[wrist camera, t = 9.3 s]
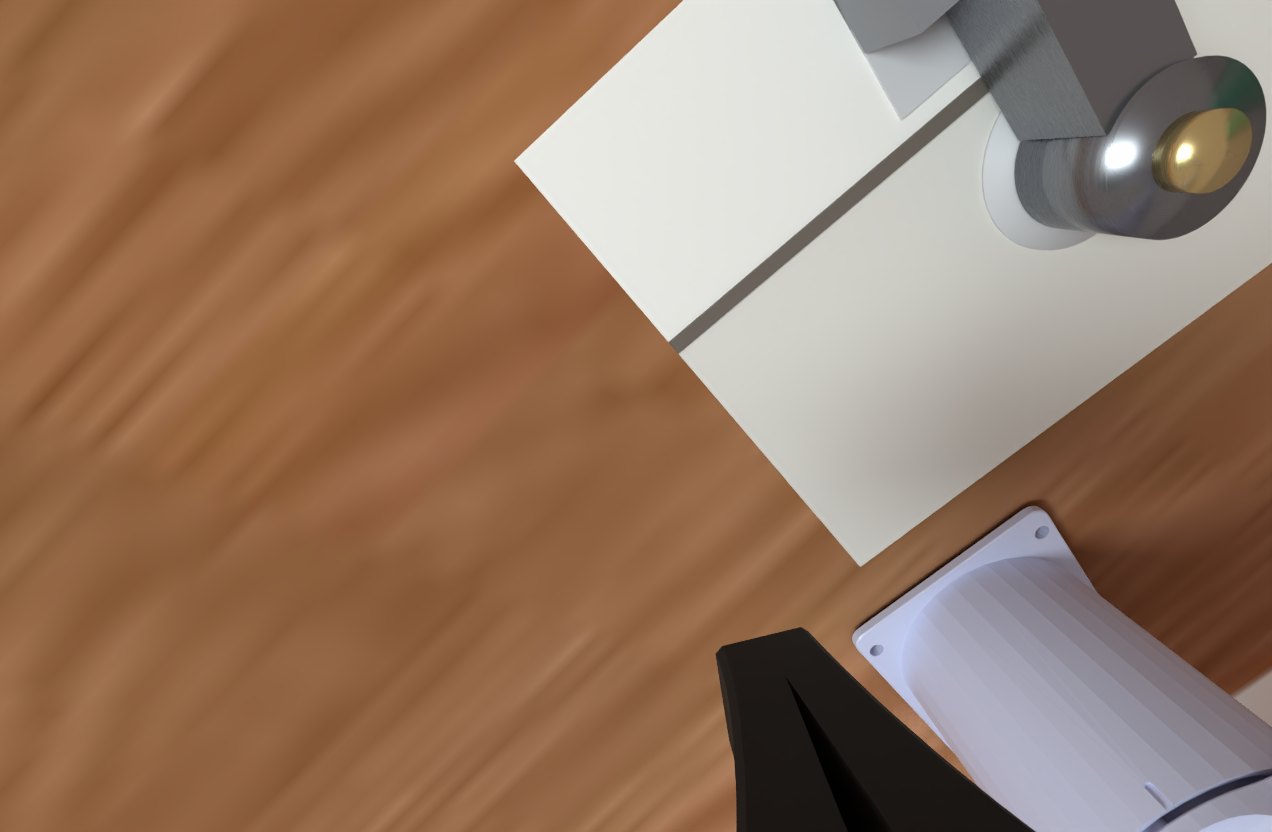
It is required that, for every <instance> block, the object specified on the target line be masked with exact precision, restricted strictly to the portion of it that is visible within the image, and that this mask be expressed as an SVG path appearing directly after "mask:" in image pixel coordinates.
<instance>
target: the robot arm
mask: <svg viewBox="0 0 1272 832" xmlns="http://www.w3.org/2000/svg"><path fill="white" fill-rule="evenodd" d="M1038 528H1039V529H1038ZM1037 529H1038V530H1037ZM1036 530H1037V531H1036ZM852 641H853V643H854V645H855V646H856V648H857V649H858V651H859V652H860V653H861V654H862V655H863V656H864V657H865V658H866V659H867V660H868V661H869V662H870V663H871V664H872V666H873V667H874V668H875V669H876V670H877V671H878V672H879V673H880V674H881V675H882V676H883V677H884V678H885V679H886V681H887V682H888V683H889V684H890V685H891V686H892V687H893V688H894V689H895V690H896V691H897V692H898V693H899V694H900V696H901V697H902V698H903V699H904V700H905V701H906V702H907V703H908V704H909V705H910V706H911V707H912V708H913V709H914V711H915V712H916V713H917V714H918V715H919V716H920V717H921V718H922V719H923V720H924V721H925V722H926V723H927V724H928V726H929V727H930V728H931V729H932V730H933V731H934V732H935V733H936V734H937V735H938V736H939V737H940V738H941V739H942V741H943V742H944V743H945V744H946V745H947V746H948V747H949V748H950V749H951V750H952V751H953V752H954V753H955V755H956V756H957V757H958V759H959V760H960V762H961V763H962V765H963V766H964V767H965V769H966V770H967V772H968V773H969V774H970V776H971V777H972V779H973V780H974V782H975V783H976V784H977V785H975V784H974V783H973V782H972V781H971V780H969V779H968V778H967V777H966V776H964V775H963V774H962V773H961V772H959V771H958V770H957V769H956V768H955V767H953V766H952V765H951V764H950V763H949V762H947V761H946V760H945V759H944V758H943V757H941V756H940V755H939V754H938V753H937V752H935V751H934V750H933V749H932V748H931V747H930V746H928V745H927V744H926V743H925V742H924V741H923V740H922V739H921V738H919V737H918V736H917V735H916V734H915V733H914V732H913V731H911V730H910V729H909V728H908V727H907V726H906V725H905V724H903V723H902V722H901V721H900V720H899V719H898V718H897V717H896V716H894V715H893V714H892V713H891V712H890V711H889V710H888V709H887V708H886V707H884V706H883V705H882V704H881V703H880V702H879V701H878V700H877V699H876V698H875V697H874V696H873V695H871V694H870V693H869V692H868V691H867V690H866V689H865V688H864V687H863V686H862V685H861V684H860V683H859V682H858V681H857V680H856V679H855V678H854V677H853V676H852V675H850V674H849V673H848V672H847V671H846V670H845V669H844V668H843V667H842V666H841V665H840V664H839V663H838V662H837V661H836V660H835V659H834V658H833V657H832V656H831V655H830V654H829V653H828V652H827V651H826V650H825V649H824V647H823V646H822V645H821V644H820V643H819V642H818V641H817V640H816V639H815V638H814V637H813V636H812V635H811V634H810V633H809V632H808V631H806V630H805V629H803V628H802V627H799V628H795V629H791V630H787V631H783V632H779V633H775V634H771V635H766V636H762V637H758V638H754V639H750V640H746V641H742V642H737V643H733V644H729V645H725V646H722V647H721V648H720V649H719V651H718V652H717V653H716V660H717V666H718V672H719V678H720V685H721V691H722V697H723V704H724V710H725V716H726V722H727V729H728V735H729V741H730V744H731V748H732V752H733V755H734V761H735V776H736V798H737V832H1272V727H1271V726H1269V725H1268V724H1267V723H1265V722H1264V721H1263V720H1262V719H1260V718H1259V717H1258V716H1256V715H1255V714H1254V713H1252V712H1251V711H1250V710H1249V709H1247V708H1246V707H1245V706H1243V705H1242V704H1241V703H1239V702H1238V701H1237V700H1235V699H1234V698H1233V697H1232V696H1230V695H1229V694H1228V693H1226V692H1225V691H1224V690H1222V689H1221V688H1220V687H1219V686H1217V685H1216V684H1215V683H1213V682H1212V681H1211V680H1209V679H1208V678H1207V677H1206V676H1204V675H1203V674H1202V673H1200V672H1199V671H1198V670H1196V669H1195V668H1194V667H1193V666H1191V665H1190V664H1189V663H1187V662H1186V661H1185V660H1183V659H1182V658H1181V657H1179V656H1178V655H1177V654H1176V653H1174V652H1173V651H1172V650H1170V649H1169V648H1168V647H1166V646H1165V645H1164V644H1163V643H1161V642H1160V641H1159V640H1157V639H1156V638H1155V637H1153V636H1152V635H1151V634H1150V633H1148V632H1147V631H1146V630H1144V629H1143V628H1142V627H1140V626H1139V625H1138V624H1136V623H1135V622H1134V621H1133V620H1131V619H1130V618H1129V617H1127V616H1126V615H1125V614H1123V613H1122V612H1121V611H1120V610H1118V609H1117V608H1116V607H1114V606H1113V605H1112V604H1110V603H1109V602H1108V601H1107V600H1105V599H1104V598H1103V597H1101V596H1100V595H1099V594H1098V593H1097V592H1096V590H1095V588H1094V587H1093V585H1092V584H1091V582H1090V580H1089V579H1088V577H1087V576H1086V574H1085V572H1084V571H1083V569H1082V568H1081V566H1080V565H1079V563H1078V561H1077V560H1076V558H1075V557H1074V555H1073V553H1072V552H1071V550H1070V549H1069V547H1068V545H1067V544H1066V542H1065V541H1064V539H1063V537H1062V536H1061V534H1060V533H1059V531H1058V529H1057V528H1056V526H1055V525H1054V523H1053V521H1052V520H1051V518H1050V517H1049V515H1048V514H1047V513H1046V512H1045V511H1044V510H1042V509H1041V508H1039V507H1037V506H1029V507H1026V508H1025V509H1023V510H1021V511H1020V512H1019V513H1017V514H1016V515H1014V516H1013V517H1012V518H1010V519H1009V520H1007V521H1006V522H1005V523H1003V524H1002V525H1001V526H999V527H998V528H996V529H995V530H994V531H992V532H991V533H989V534H988V535H987V536H985V537H984V538H983V539H981V540H980V541H978V542H977V543H976V544H974V545H973V546H972V547H970V548H969V549H967V550H966V551H965V552H963V553H962V554H960V555H959V556H958V557H956V558H955V559H954V560H952V561H951V562H949V563H948V564H947V565H945V566H944V567H942V568H941V569H940V570H938V571H937V572H936V573H934V574H933V575H931V576H930V577H929V578H927V579H926V580H924V581H923V582H922V583H920V584H919V585H918V586H916V587H915V588H913V589H912V590H911V591H909V592H908V593H906V594H905V595H904V596H902V597H901V598H900V599H898V600H897V601H895V602H894V603H893V604H891V605H890V606H888V607H887V608H886V609H884V610H883V611H882V612H880V613H879V614H877V615H876V616H875V617H873V618H872V619H870V620H869V621H868V622H866V623H865V624H864V625H862V626H861V627H859V628H858V629H857V630H856V631H855V632H854V634H853V636H852ZM875 645H876V646H875ZM873 646H875V647H873ZM872 647H873V648H872Z"/></svg>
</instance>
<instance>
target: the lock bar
mask: <svg viewBox="0 0 1272 832" xmlns="http://www.w3.org/2000/svg"><path fill="white" fill-rule="evenodd" d="M945 15H946V16H947V18H948V20H949V21H950V23H951V25H952V27H953V28H954V30H955V32H956V34H957V35H958V37H959V39H960V40H961V42H962V44H963V46H964V47H965V49H966V51H967V53H968V54H969V56H970V58H971V60H972V61H973V63H974V65H975V66H976V68H977V70H978V72H979V73H980V75H981V77H982V79H983V80H984V82H985V84H986V86H987V87H988V89H989V91H990V92H991V94H992V96H993V98H994V99H995V101H996V103H997V105H998V106H999V108H1000V110H1001V111H1002V113H1003V115H1004V117H1005V118H1006V120H1007V122H1008V124H1009V125H1010V127H1011V129H1012V131H1013V132H1014V134H1015V136H1016V137H1017V139H1018V141H1020V140H1021V141H1020V144H1019V147H1018V151H1017V155H1016V161H1015V171H1014V176H1015V186H1016V192H1017V195H1018V198H1019V200H1020V202H1021V204H1022V206H1023V208H1024V209H1025V211H1026V212H1027V213H1028V214H1029V215H1030V216H1031V217H1032V218H1033V219H1034V220H1035V221H1037V222H1038V223H1040V224H1042V225H1044V226H1047V227H1051V228H1057V229H1065V230H1074V231H1082V232H1091V233H1099V234H1108V235H1116V236H1125V237H1133V238H1142V239H1151V240H1168V239H1173V238H1177V237H1180V236H1183V235H1186V234H1188V233H1190V232H1193V231H1195V230H1197V229H1198V228H1200V227H1202V226H1203V225H1205V224H1206V223H1208V222H1209V221H1210V220H1212V219H1213V218H1214V217H1216V216H1217V215H1218V214H1219V213H1220V212H1221V211H1222V210H1223V209H1224V208H1225V207H1226V206H1227V205H1228V204H1229V203H1230V202H1231V201H1232V200H1233V199H1234V197H1235V196H1236V195H1237V193H1238V192H1239V191H1240V190H1241V188H1242V187H1243V185H1244V183H1245V182H1246V180H1247V179H1248V177H1249V175H1250V173H1251V171H1252V170H1253V168H1254V165H1255V163H1256V161H1257V158H1258V156H1259V153H1260V150H1261V147H1262V144H1263V139H1264V135H1265V128H1266V103H1265V97H1264V93H1263V90H1262V87H1261V85H1260V83H1259V81H1258V79H1257V77H1256V76H1255V75H1254V73H1253V72H1252V71H1251V70H1250V69H1249V68H1248V67H1247V66H1246V65H1245V64H1243V63H1241V62H1240V61H1238V60H1236V59H1233V58H1230V57H1226V56H1219V55H1214V56H1203V57H1197V58H1194V57H1195V56H1196V55H1197V52H1196V49H1195V47H1194V45H1193V42H1192V40H1191V38H1190V35H1189V33H1188V30H1187V28H1186V26H1185V23H1184V21H1183V18H1182V16H1181V14H1180V11H1179V9H1178V7H1177V4H1176V2H1175V0H959V1H958V2H957V3H956V4H955V5H953V6H952V7H951V8H950V9H949V10H948V11H947V12H945Z"/></svg>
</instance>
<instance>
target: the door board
mask: <svg viewBox="0 0 1272 832" xmlns="http://www.w3.org/2000/svg"><path fill="white" fill-rule="evenodd" d="M958 1H959V0H683V1H682V2H681V3H680V4H679V5H678V6H677V7H676V8H675V9H674V10H673V11H672V12H671V13H670V14H669V15H668V16H667V17H666V18H665V19H663V20H662V21H661V22H660V23H659V24H658V25H657V26H656V27H655V28H654V29H653V30H652V31H651V32H650V33H649V34H648V35H647V36H646V37H644V38H643V39H642V40H641V41H640V42H639V43H638V44H637V45H636V46H635V47H634V48H633V49H632V50H631V51H630V52H629V53H628V54H627V55H625V56H624V57H623V58H622V59H621V60H620V61H619V62H618V63H617V64H616V65H615V66H614V67H613V68H612V69H611V70H610V71H609V72H608V73H606V74H605V75H604V76H603V77H602V78H601V79H600V80H599V81H598V82H597V83H596V84H595V85H594V86H593V87H592V88H591V89H590V90H589V91H587V92H586V93H585V94H584V95H583V96H582V97H581V98H580V99H579V100H578V101H577V102H576V103H575V104H574V105H573V106H572V107H571V108H570V109H568V110H567V111H566V112H565V113H564V114H563V115H562V116H561V117H560V118H559V119H558V120H557V121H556V122H555V123H554V124H553V125H552V126H551V127H550V128H548V129H547V130H546V131H545V132H544V133H543V134H542V135H541V136H540V137H539V138H538V139H537V140H536V141H535V142H534V143H533V144H532V145H531V146H529V147H528V148H527V149H526V150H525V151H524V152H523V153H522V154H521V155H520V156H519V157H518V158H517V159H516V160H515V162H516V164H517V165H518V166H519V167H520V168H521V169H522V171H523V172H524V173H525V174H526V175H527V177H528V178H529V179H530V180H531V181H532V182H533V184H534V185H535V186H536V187H537V188H538V189H539V191H540V192H541V193H542V194H543V195H544V196H545V198H546V199H547V200H548V201H549V202H550V204H551V205H552V206H553V207H554V208H555V209H556V211H557V212H558V213H559V214H560V215H561V216H562V218H563V219H564V220H565V221H566V222H567V223H568V225H569V226H570V227H571V228H572V229H573V231H574V232H575V233H576V234H577V235H578V236H579V238H580V239H581V240H582V241H583V242H584V243H585V245H586V246H587V247H588V248H589V249H590V250H591V252H592V253H593V254H594V255H595V256H596V257H597V259H598V260H599V261H600V262H601V263H602V265H603V266H604V267H605V268H606V269H607V270H608V272H609V273H610V274H611V275H612V276H613V277H614V279H615V280H616V281H617V282H618V283H619V284H620V286H621V287H622V288H623V289H624V290H625V292H626V293H627V294H628V295H629V296H630V297H631V299H632V300H633V301H634V302H635V303H636V304H637V306H638V307H639V308H640V309H641V310H642V311H643V313H644V314H645V315H646V316H647V317H648V319H649V320H650V321H651V322H652V323H653V324H654V326H655V327H656V328H657V329H658V330H659V331H660V333H661V334H662V335H663V336H664V337H665V338H666V340H667V341H668V342H669V343H670V344H671V346H672V347H673V348H674V349H675V350H676V352H677V353H678V354H679V355H680V356H681V357H682V358H683V360H684V361H685V362H686V363H687V364H688V365H689V367H690V368H691V369H692V370H693V371H694V372H695V374H696V375H697V376H698V377H699V378H700V380H701V381H702V382H703V383H704V384H705V385H706V387H707V388H708V389H709V390H710V391H711V392H712V394H713V395H714V396H715V397H716V398H717V399H718V401H719V402H720V403H721V404H722V405H723V407H724V408H725V409H726V410H727V411H728V412H729V414H730V415H731V416H732V417H733V418H734V419H735V421H736V422H737V423H738V424H739V425H740V426H741V428H742V429H743V430H744V431H745V432H746V433H747V435H748V436H749V437H750V438H751V439H752V441H753V442H754V443H755V444H756V445H757V446H758V448H759V449H760V450H761V451H762V452H763V453H764V455H765V456H766V457H767V458H768V459H769V460H770V462H771V463H772V464H773V465H774V466H775V468H776V469H777V470H778V471H779V472H780V473H781V475H782V476H783V477H784V478H785V479H786V480H787V482H788V483H789V484H790V485H791V486H792V487H793V489H794V490H795V491H796V492H797V493H798V495H799V496H800V497H801V498H802V499H803V500H804V502H805V503H806V504H807V505H808V506H809V507H810V509H811V510H812V511H813V512H814V513H815V514H816V516H817V517H818V518H819V519H820V520H821V521H822V523H823V524H824V525H825V526H826V527H827V529H828V530H829V531H830V532H831V533H832V534H833V536H834V537H835V538H836V539H837V540H838V541H839V543H840V544H841V545H842V546H843V547H844V548H845V550H846V551H847V552H848V553H849V554H850V556H851V557H852V558H853V559H854V560H855V561H856V563H857V564H858V565H859V566H860V567H861V566H862V565H864V564H865V563H866V562H868V561H869V560H870V559H872V558H873V557H874V556H876V555H877V554H878V553H880V552H881V551H883V550H884V549H885V548H887V547H888V546H889V545H891V544H892V543H893V542H895V541H896V540H897V539H899V538H900V537H901V536H903V535H904V534H906V533H907V532H908V531H910V530H911V529H912V528H914V527H915V526H916V525H918V524H919V523H920V522H922V521H923V520H924V519H926V518H927V517H929V516H930V515H931V514H933V513H934V512H935V511H937V510H938V509H939V508H941V507H942V506H943V505H945V504H946V503H947V502H949V501H950V500H952V499H953V498H954V497H956V496H957V495H958V494H960V493H961V492H962V491H964V490H965V489H966V488H968V487H969V486H970V485H972V484H973V483H975V482H976V481H977V480H979V479H980V478H981V477H983V476H984V475H985V474H987V473H988V472H989V471H991V470H992V469H993V468H995V467H996V466H997V465H999V464H1000V463H1002V462H1003V461H1004V460H1006V459H1007V458H1008V457H1010V456H1011V455H1012V454H1014V453H1015V452H1016V451H1018V450H1019V449H1020V448H1022V447H1023V446H1025V445H1026V444H1027V443H1029V442H1030V441H1031V440H1033V439H1034V438H1035V437H1037V436H1038V435H1039V434H1041V433H1042V432H1043V431H1045V430H1046V429H1048V428H1049V427H1050V426H1052V425H1053V424H1054V423H1056V422H1057V421H1058V420H1060V419H1061V418H1062V417H1064V416H1065V415H1066V414H1068V413H1069V412H1071V411H1072V410H1073V409H1075V408H1076V407H1077V406H1079V405H1080V404H1081V403H1083V402H1084V401H1085V400H1087V399H1088V398H1089V397H1091V396H1092V395H1093V394H1095V393H1096V392H1098V391H1099V390H1100V389H1102V388H1103V387H1104V386H1106V385H1107V384H1108V383H1110V382H1111V381H1112V380H1114V379H1115V378H1116V377H1118V376H1119V375H1121V374H1122V373H1123V372H1125V371H1126V370H1127V369H1129V368H1130V367H1131V366H1133V365H1134V364H1135V363H1137V362H1138V361H1139V360H1141V359H1142V358H1144V357H1145V356H1146V355H1148V354H1149V353H1150V352H1152V351H1153V350H1154V349H1156V348H1157V347H1158V346H1160V345H1161V344H1162V343H1164V342H1165V341H1167V340H1168V339H1169V338H1171V337H1172V336H1173V335H1175V334H1176V333H1177V332H1179V331H1180V330H1181V329H1183V328H1184V327H1185V326H1187V325H1188V324H1190V323H1191V322H1192V321H1194V320H1195V319H1196V318H1198V317H1199V316H1200V315H1202V314H1203V313H1204V312H1206V311H1207V310H1208V309H1210V308H1211V307H1212V306H1214V305H1215V304H1217V303H1218V302H1219V301H1221V300H1222V299H1223V298H1225V297H1226V296H1227V295H1229V294H1230V293H1231V292H1233V291H1234V290H1235V289H1237V288H1238V287H1240V286H1241V285H1242V284H1244V283H1245V282H1246V281H1248V280H1249V279H1250V278H1252V277H1253V276H1254V275H1256V274H1257V273H1258V272H1260V271H1261V270H1263V269H1264V268H1265V267H1267V266H1268V265H1269V264H1271V263H1272V0H1175V2H1176V4H1177V7H1178V9H1179V11H1180V14H1181V16H1182V18H1183V21H1184V23H1185V26H1186V28H1187V30H1188V33H1189V35H1190V38H1191V40H1192V42H1193V45H1194V47H1195V49H1196V52H1197V55H1196V56H1195V57H1194V58H1197V57H1203V56H1214V55H1219V56H1226V57H1230V58H1233V59H1236V60H1238V61H1240V62H1241V63H1243V64H1245V65H1246V66H1247V67H1248V68H1249V69H1250V70H1251V71H1252V72H1253V73H1254V75H1255V76H1256V77H1257V79H1258V81H1259V83H1260V85H1261V87H1262V90H1263V93H1264V97H1265V103H1266V128H1265V135H1264V139H1263V144H1262V147H1261V150H1260V153H1259V156H1258V158H1257V161H1256V163H1255V165H1254V168H1253V170H1252V171H1251V173H1250V175H1249V177H1248V179H1247V180H1246V182H1245V183H1244V185H1243V187H1242V188H1241V190H1240V191H1239V192H1238V193H1237V195H1236V196H1235V197H1234V199H1233V200H1232V201H1231V202H1230V203H1229V204H1228V205H1227V206H1226V207H1225V208H1224V209H1223V210H1222V211H1221V212H1220V213H1219V214H1218V215H1217V216H1216V217H1214V218H1213V219H1212V220H1210V221H1209V222H1208V223H1206V224H1205V225H1203V226H1202V227H1200V228H1198V229H1197V230H1195V231H1193V232H1190V233H1188V234H1186V235H1183V236H1180V237H1177V238H1173V239H1168V240H1151V239H1142V238H1133V237H1125V236H1116V235H1108V234H1099V233H1091V232H1082V231H1074V230H1065V229H1057V228H1051V227H1047V226H1044V225H1042V224H1040V223H1038V222H1037V221H1035V220H1034V219H1033V218H1032V217H1031V216H1030V215H1029V214H1028V213H1027V212H1026V211H1025V209H1024V208H1023V206H1022V204H1021V202H1020V200H1019V198H1018V195H1017V192H1016V186H1015V176H1014V171H1015V161H1016V155H1017V151H1018V147H1019V144H1020V141H1021V140H1020V141H1018V139H1017V137H1016V136H1015V134H1014V132H1013V131H1012V129H1011V127H1010V125H1009V124H1008V122H1007V120H1006V118H1005V117H1004V115H1003V113H1002V111H1001V110H1000V108H999V106H998V105H997V103H996V101H995V99H994V98H993V96H992V94H991V92H990V91H989V89H988V87H987V86H986V84H985V82H984V80H983V79H982V77H981V75H980V73H979V72H978V70H977V68H976V66H975V65H974V63H973V61H972V60H971V58H970V56H969V54H968V53H967V51H966V49H965V47H964V46H963V44H962V42H961V40H960V39H959V37H958V35H957V34H956V32H955V30H954V28H953V27H952V25H951V23H950V21H949V20H948V18H947V16H946V15H945V12H947V11H948V10H949V9H950V8H951V7H952V6H953V5H955V4H956V3H957V2H958Z"/></svg>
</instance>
